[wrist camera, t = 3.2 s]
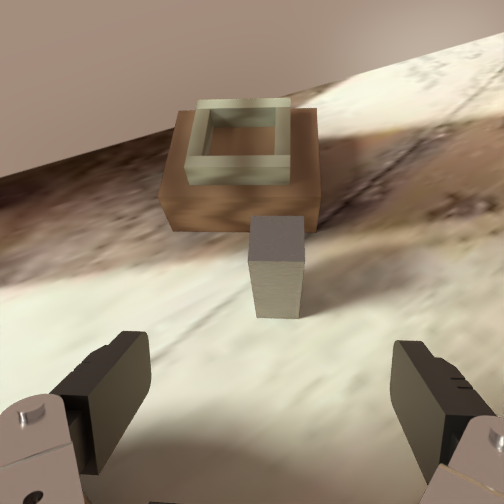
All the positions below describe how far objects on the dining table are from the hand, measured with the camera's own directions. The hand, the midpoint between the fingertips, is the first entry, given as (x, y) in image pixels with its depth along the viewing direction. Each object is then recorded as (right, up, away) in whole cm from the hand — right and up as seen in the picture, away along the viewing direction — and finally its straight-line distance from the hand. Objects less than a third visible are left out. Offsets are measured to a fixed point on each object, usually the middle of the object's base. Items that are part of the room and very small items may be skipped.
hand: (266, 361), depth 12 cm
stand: (-1, +11, +32) cm, 34 cm away
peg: (+2, -1, +24) cm, 24 cm away
